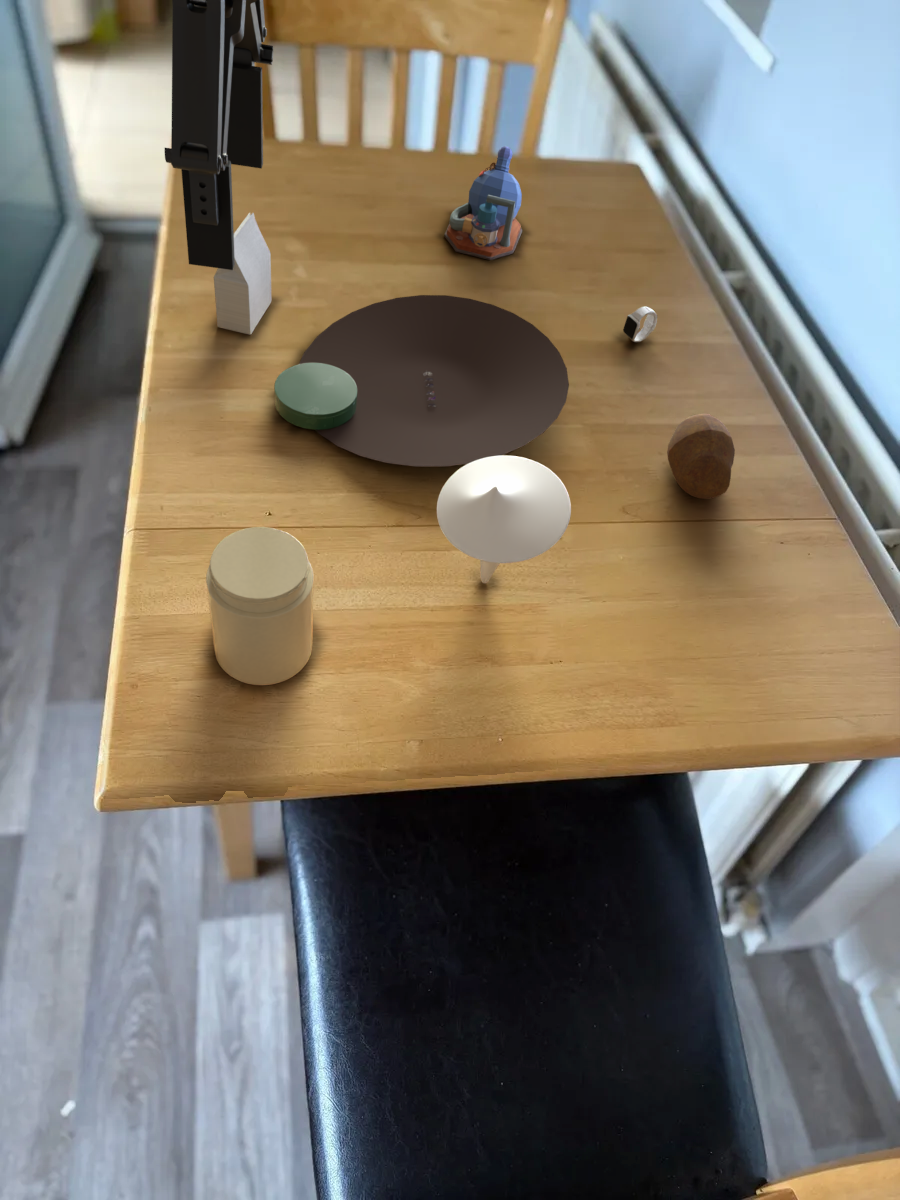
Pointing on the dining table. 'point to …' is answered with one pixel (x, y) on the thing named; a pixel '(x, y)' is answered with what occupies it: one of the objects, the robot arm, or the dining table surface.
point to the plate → (441, 380)
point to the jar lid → (315, 396)
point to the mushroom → (503, 510)
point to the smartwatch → (634, 324)
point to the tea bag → (244, 281)
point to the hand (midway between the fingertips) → (228, 210)
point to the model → (488, 213)
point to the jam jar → (261, 605)
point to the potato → (701, 456)
